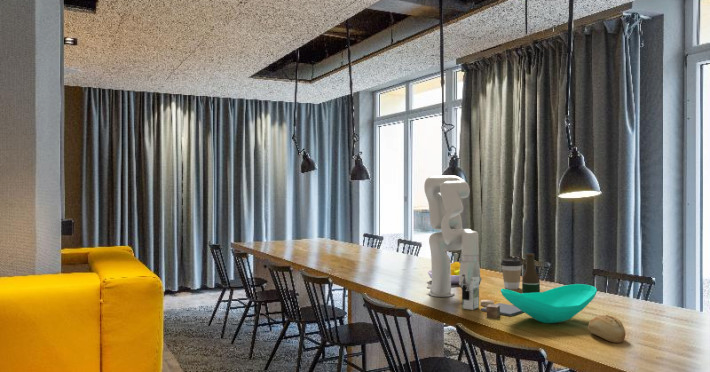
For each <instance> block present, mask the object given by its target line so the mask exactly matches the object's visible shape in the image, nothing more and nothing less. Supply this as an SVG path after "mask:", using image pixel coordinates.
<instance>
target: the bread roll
mask: <svg viewBox="0 0 710 372" xmlns="http://www.w3.org/2000/svg"><path fill="white" fill-rule="evenodd" d="M587 328H588V331H589V332H590V333H591V334H593V335H595V336H597V337H600V338H601V339H604V340H606V341H608V342H610V343H614V344H620V343H622V342H624V340H625V338H626V334H627V333H626V329H625V326H624V325H623V322H622V321H621V320H620V319H619V318H616V317H615V316H611V315H607V314H605V315H603V314H602V315H599V316H595V317H594V318H592V319H591V320H590V321H589V323H588V327H587Z"/></svg>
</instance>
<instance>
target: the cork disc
mask: <svg viewBox="0 0 710 372" xmlns="http://www.w3.org/2000/svg"><path fill="white" fill-rule="evenodd" d="M479 304H480V306H481V307H486V306H488V305H489V304H492V305H495V301H494V300H492V299H481V300H479Z"/></svg>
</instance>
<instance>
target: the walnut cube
mask: <svg viewBox="0 0 710 372" xmlns="http://www.w3.org/2000/svg"><path fill="white" fill-rule="evenodd" d="M485 307H486V311H487V312H486V318H494V319H498V318H499V317H500V316H501V314H500V305H495V304H494V305H492V304H489V305H488V306H485Z"/></svg>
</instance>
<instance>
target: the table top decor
mask: <svg viewBox="0 0 710 372" xmlns="http://www.w3.org/2000/svg"><path fill="white" fill-rule="evenodd" d="M597 292H598V289H597V287H595V286H593V285H589V284H583V283H574V284H565V285H561V286H557V287H553V288H550V289H548V290H545V291H540V292H536V293H522V292H521V293H520V292H517V291H514V290H513V289H506V288H501V289H500V293H501V295H502V296H503V297H504V299H506V300H507V302H509V303H510V304H511V305H514V306H516V307H517V308H519V309H520V310H522V311H523V313H525V314H526V315H527V316H529V317H531V319H534V320H535V321H537V322H540V323H545V324H556V323H562V322H566V321H568V320H571V319H572V318H573V317H575V316H576V315H577V314H579V313H580V312H581V311H583V310H584V309H585V308H586V307H587V306H588V305H589V304H590V303H591V302H593V300H594V298H595V297H596V294H597Z"/></svg>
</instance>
